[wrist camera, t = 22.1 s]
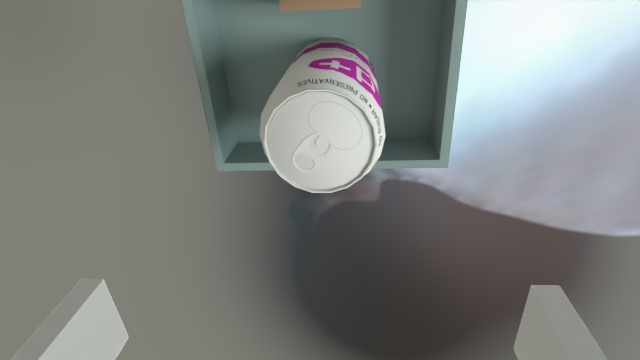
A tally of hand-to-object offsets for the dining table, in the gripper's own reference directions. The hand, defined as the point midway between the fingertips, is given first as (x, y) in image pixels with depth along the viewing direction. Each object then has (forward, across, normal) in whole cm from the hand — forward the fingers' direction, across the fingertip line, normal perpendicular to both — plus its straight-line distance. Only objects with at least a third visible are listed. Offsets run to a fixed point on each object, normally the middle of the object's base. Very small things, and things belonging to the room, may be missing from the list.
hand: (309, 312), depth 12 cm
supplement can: (+28, -1, 0) cm, 28 cm away
